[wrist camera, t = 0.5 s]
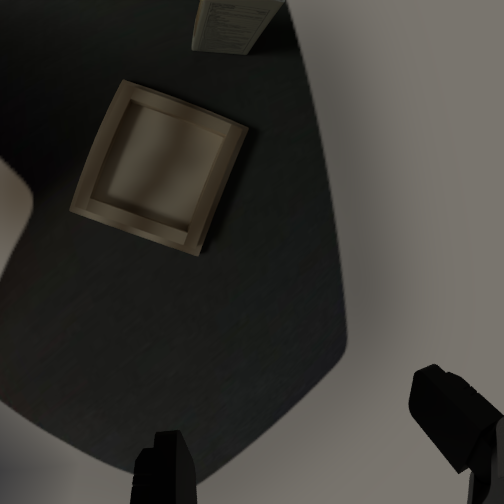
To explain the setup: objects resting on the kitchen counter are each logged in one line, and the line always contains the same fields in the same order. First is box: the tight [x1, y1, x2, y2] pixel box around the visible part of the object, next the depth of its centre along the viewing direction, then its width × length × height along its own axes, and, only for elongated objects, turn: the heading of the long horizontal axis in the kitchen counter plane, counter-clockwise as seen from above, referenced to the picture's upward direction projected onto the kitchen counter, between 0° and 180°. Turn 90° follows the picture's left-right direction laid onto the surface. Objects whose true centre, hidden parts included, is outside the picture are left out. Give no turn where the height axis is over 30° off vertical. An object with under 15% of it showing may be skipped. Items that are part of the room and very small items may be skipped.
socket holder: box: [69, 80, 249, 256], centre depth 29 cm, size 14×14×2 cm
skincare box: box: [192, 0, 285, 55], centre depth 23 cm, size 6×4×12 cm
